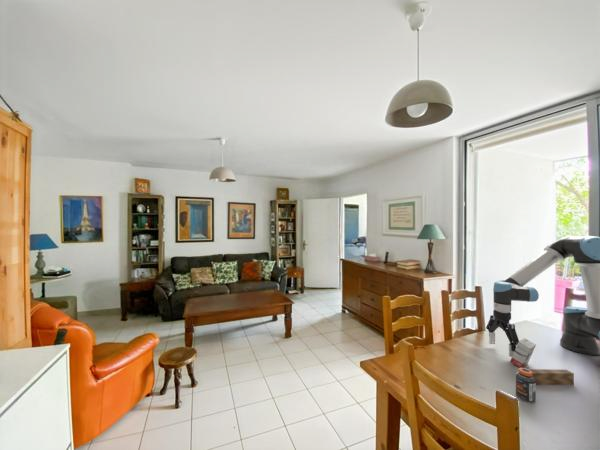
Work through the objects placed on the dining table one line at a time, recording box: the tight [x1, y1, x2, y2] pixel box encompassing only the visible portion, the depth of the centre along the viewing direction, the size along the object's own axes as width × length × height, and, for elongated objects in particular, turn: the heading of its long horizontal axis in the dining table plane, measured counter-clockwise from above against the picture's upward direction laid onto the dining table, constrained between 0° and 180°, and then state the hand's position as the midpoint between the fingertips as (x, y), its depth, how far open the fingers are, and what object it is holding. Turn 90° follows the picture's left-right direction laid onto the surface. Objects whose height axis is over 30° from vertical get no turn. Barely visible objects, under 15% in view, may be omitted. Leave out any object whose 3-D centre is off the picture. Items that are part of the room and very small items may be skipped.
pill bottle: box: [515, 367, 537, 404], centre depth 99 cm, size 6×6×11 cm
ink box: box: [509, 338, 537, 368], centre depth 123 cm, size 8×5×12 cm, turn 122°
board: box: [527, 368, 575, 386], centre depth 109 cm, size 19×3×5 cm, turn 89°
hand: (501, 349), depth 134 cm, fingers open, 13 cm apart
